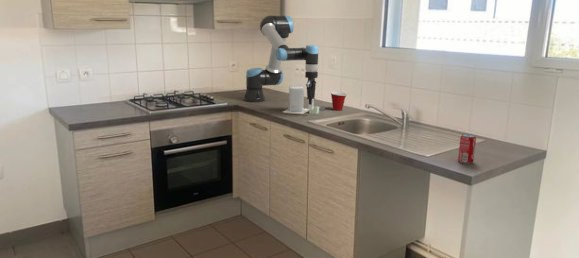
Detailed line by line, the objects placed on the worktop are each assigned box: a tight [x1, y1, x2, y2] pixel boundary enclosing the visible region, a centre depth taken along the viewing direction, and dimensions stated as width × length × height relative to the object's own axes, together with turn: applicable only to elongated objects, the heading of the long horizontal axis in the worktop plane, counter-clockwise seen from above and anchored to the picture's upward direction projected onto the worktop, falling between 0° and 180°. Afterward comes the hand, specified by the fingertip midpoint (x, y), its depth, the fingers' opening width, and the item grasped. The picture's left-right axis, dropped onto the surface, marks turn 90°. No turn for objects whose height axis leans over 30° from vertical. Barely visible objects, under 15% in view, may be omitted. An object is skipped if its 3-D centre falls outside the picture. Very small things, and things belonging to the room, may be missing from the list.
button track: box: [319, 106, 326, 112], centre depth 285 cm, size 14×8×2 cm, turn 160°
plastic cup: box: [330, 91, 347, 112], centre depth 291 cm, size 11×11×12 cm
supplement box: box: [288, 85, 305, 111], centre depth 285 cm, size 9×9×15 cm
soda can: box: [457, 133, 477, 165], centre depth 188 cm, size 6×6×12 cm
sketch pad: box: [282, 107, 309, 115], centre depth 287 cm, size 16×13×1 cm
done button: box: [308, 105, 320, 115], centre depth 281 cm, size 5×5×4 cm
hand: (310, 109), depth 273 cm, fingers closed
